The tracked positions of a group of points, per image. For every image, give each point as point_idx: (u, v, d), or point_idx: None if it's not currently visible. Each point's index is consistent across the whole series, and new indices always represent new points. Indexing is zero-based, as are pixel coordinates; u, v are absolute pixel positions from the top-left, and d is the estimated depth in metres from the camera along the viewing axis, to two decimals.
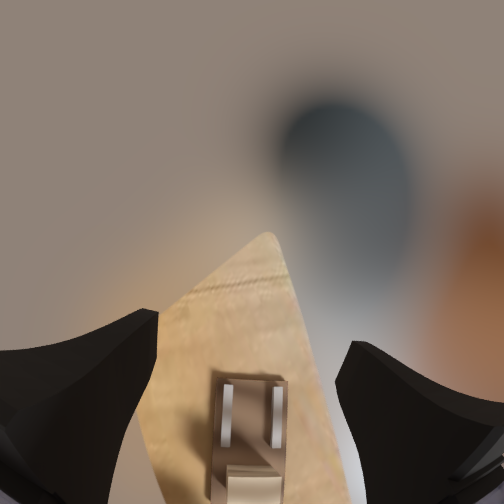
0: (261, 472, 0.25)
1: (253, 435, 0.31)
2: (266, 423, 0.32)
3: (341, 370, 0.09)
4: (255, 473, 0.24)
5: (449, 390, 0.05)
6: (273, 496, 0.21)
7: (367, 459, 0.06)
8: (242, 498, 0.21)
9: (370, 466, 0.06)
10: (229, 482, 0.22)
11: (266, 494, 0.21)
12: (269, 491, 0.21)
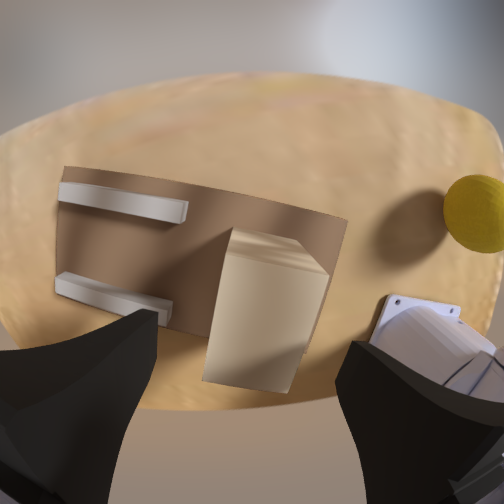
0: None
1: (153, 251, 0.17)
2: (131, 219, 0.16)
3: (341, 370, 0.09)
4: None
5: (449, 390, 0.05)
6: (295, 291, 0.10)
7: (367, 459, 0.06)
8: (277, 364, 0.11)
9: (370, 466, 0.06)
10: (219, 381, 0.11)
11: (281, 307, 0.10)
12: (271, 296, 0.10)
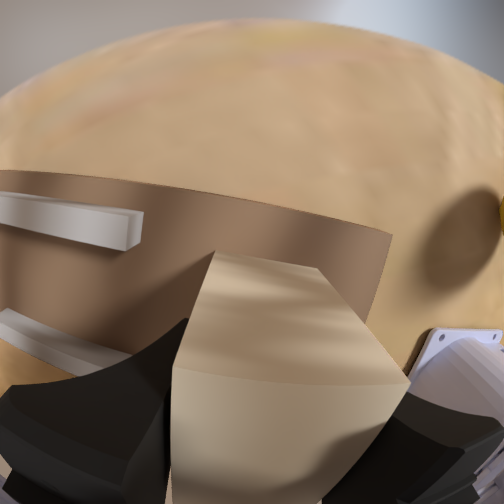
0: None
1: (101, 287, 0.10)
2: (68, 242, 0.10)
3: None
4: None
5: (411, 396, 0.05)
6: (340, 420, 0.04)
7: None
8: (292, 497, 0.05)
9: None
10: None
11: (306, 444, 0.04)
12: (287, 434, 0.04)
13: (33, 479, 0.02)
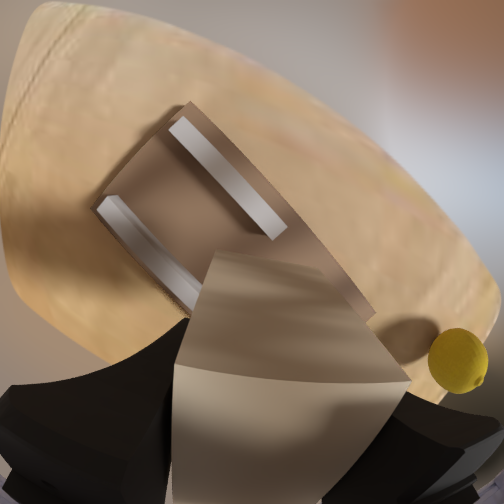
0: None
1: (224, 240, 0.17)
2: (223, 200, 0.17)
3: None
4: None
5: (411, 396, 0.05)
6: (340, 419, 0.04)
7: None
8: (292, 496, 0.05)
9: None
10: None
11: (307, 443, 0.04)
12: (287, 432, 0.04)
13: (33, 479, 0.02)
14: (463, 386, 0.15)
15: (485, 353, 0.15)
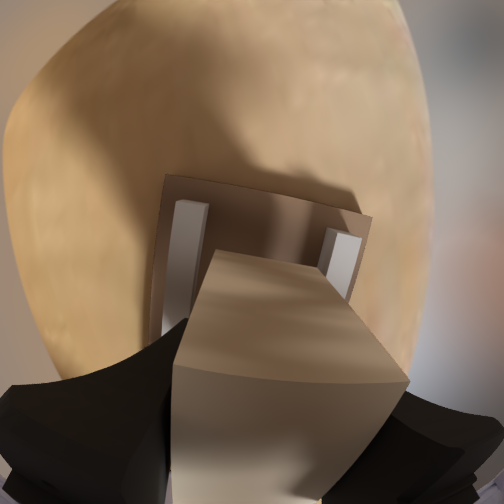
0: None
1: None
2: None
3: None
4: None
5: (411, 396, 0.05)
6: (339, 418, 0.04)
7: None
8: (292, 495, 0.05)
9: None
10: None
11: (305, 443, 0.04)
12: (286, 432, 0.04)
13: (33, 479, 0.02)
14: None
15: None
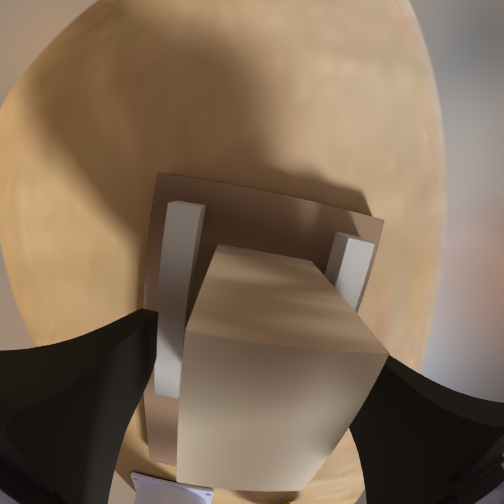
0: None
1: None
2: None
3: None
4: None
5: (449, 390, 0.05)
6: (327, 385, 0.05)
7: (367, 459, 0.06)
8: (288, 469, 0.06)
9: (370, 466, 0.06)
10: (202, 484, 0.06)
11: (298, 409, 0.05)
12: (281, 397, 0.05)
13: None
14: None
15: None
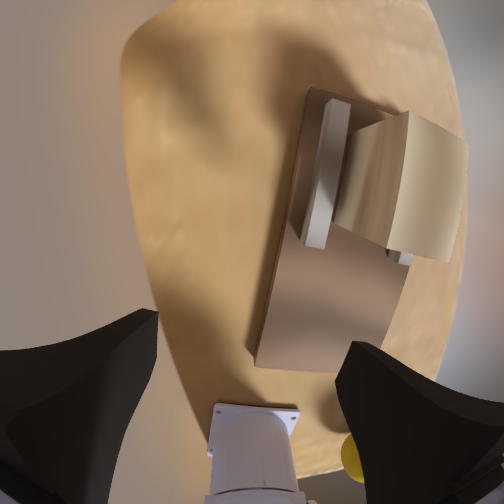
0: (376, 156, 0.12)
1: None
2: None
3: (341, 370, 0.09)
4: (379, 171, 0.11)
5: (449, 390, 0.05)
6: (453, 151, 0.09)
7: (367, 459, 0.06)
8: (444, 224, 0.10)
9: (370, 466, 0.06)
10: (402, 248, 0.10)
11: (446, 163, 0.09)
12: (440, 153, 0.09)
13: None
14: None
15: None
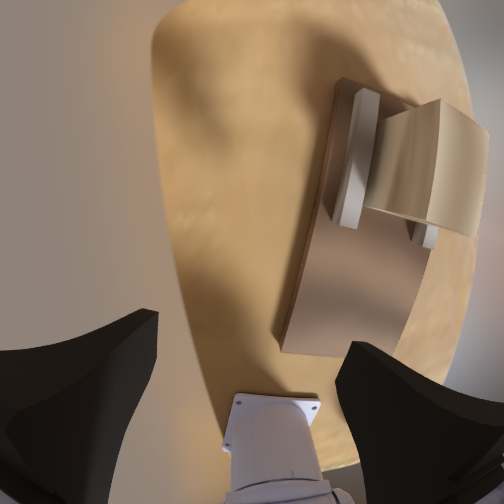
0: (409, 139, 0.12)
1: None
2: None
3: (341, 370, 0.09)
4: (412, 152, 0.11)
5: (449, 390, 0.05)
6: (476, 137, 0.09)
7: (367, 459, 0.06)
8: (472, 202, 0.10)
9: (370, 466, 0.06)
10: (438, 221, 0.10)
11: (471, 148, 0.09)
12: (466, 138, 0.09)
13: None
14: None
15: None
